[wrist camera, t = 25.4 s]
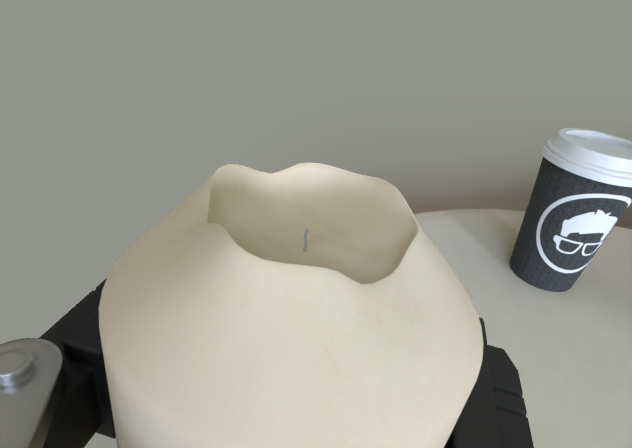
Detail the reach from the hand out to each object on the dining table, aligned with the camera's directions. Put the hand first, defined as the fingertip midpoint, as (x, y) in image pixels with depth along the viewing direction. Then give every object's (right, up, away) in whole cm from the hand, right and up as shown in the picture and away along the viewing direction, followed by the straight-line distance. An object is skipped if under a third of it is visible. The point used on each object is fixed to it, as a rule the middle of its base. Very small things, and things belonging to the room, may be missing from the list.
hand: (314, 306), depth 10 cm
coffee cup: (+24, -4, +37) cm, 45 cm away
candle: (-1, -6, +1) cm, 7 cm away
